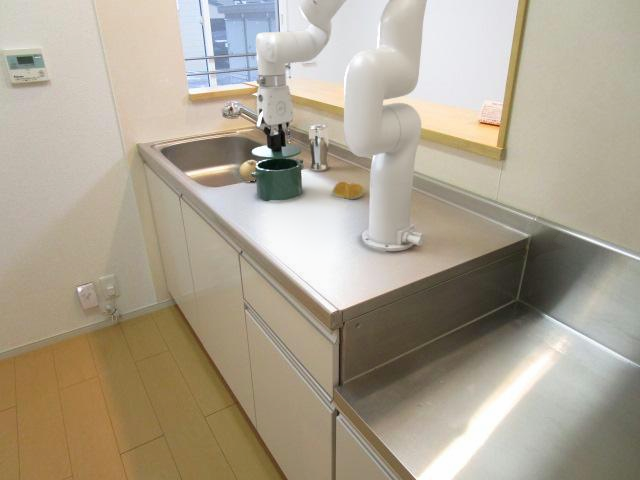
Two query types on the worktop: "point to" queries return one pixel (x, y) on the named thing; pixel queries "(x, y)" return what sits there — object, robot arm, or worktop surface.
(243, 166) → the onion
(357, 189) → the bread roll
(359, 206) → the worktop surface
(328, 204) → the worktop surface
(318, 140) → the pepper mill
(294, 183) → the pot
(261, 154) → the lid
